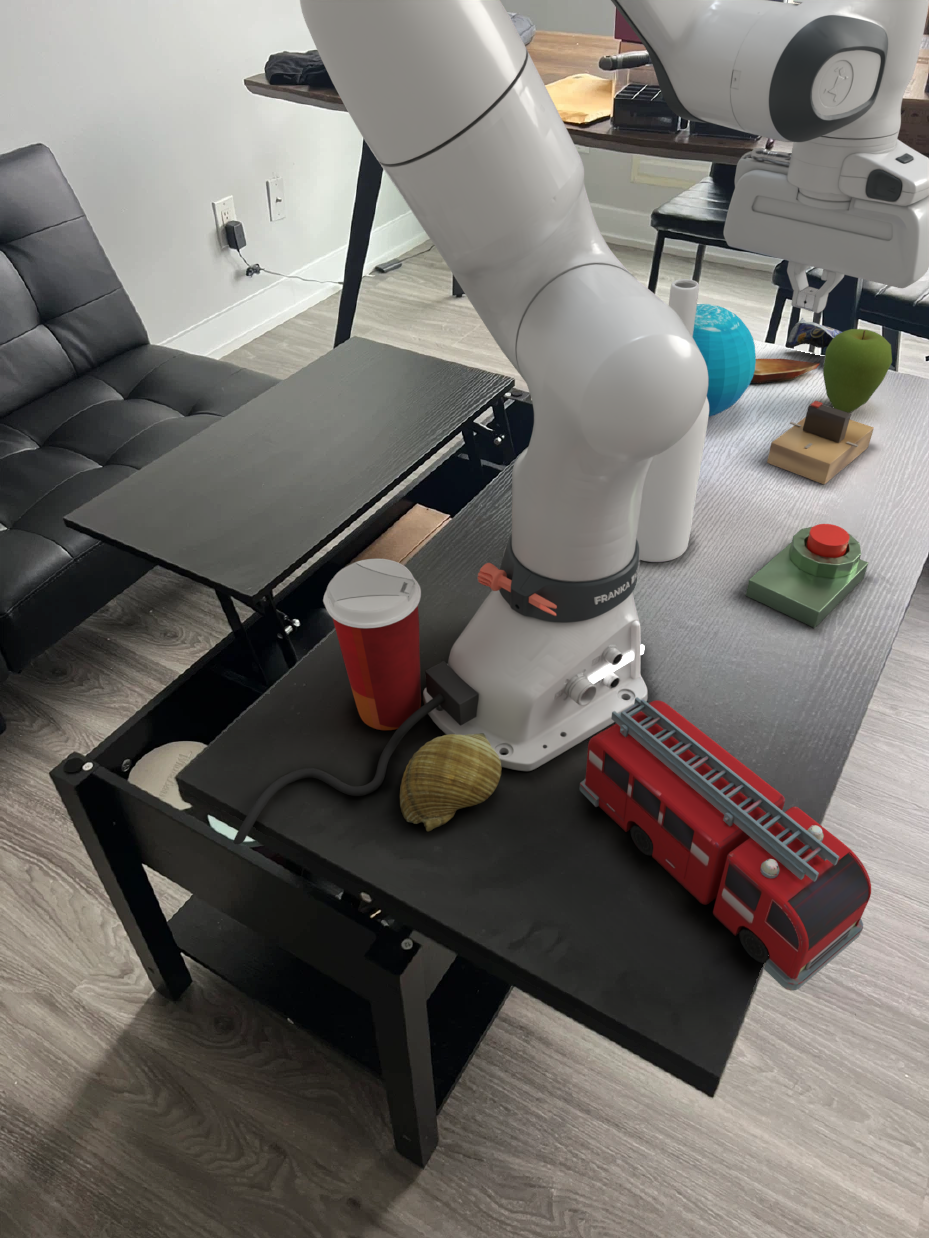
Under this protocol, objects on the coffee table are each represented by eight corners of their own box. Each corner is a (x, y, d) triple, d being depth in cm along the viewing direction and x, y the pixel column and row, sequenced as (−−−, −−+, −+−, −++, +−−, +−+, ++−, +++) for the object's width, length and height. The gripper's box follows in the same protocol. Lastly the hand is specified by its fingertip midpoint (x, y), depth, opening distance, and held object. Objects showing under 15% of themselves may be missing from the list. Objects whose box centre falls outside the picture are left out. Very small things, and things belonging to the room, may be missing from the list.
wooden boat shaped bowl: (814, 369, 137) (817, 358, 136) (823, 385, 133) (826, 374, 132) (718, 369, 138) (720, 358, 137) (724, 386, 134) (726, 375, 133)
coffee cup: (441, 682, 89) (430, 558, 79) (420, 745, 82) (405, 619, 73) (360, 672, 90) (338, 550, 80) (333, 733, 84) (306, 609, 74)
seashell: (432, 856, 78) (477, 847, 72) (369, 809, 77) (408, 795, 70) (482, 765, 83) (528, 749, 77) (423, 719, 82) (465, 699, 75)
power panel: (829, 486, 113) (835, 464, 111) (762, 461, 118) (767, 439, 116) (872, 449, 119) (879, 427, 117) (807, 426, 124) (812, 405, 122)
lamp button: (834, 563, 95) (838, 550, 94) (799, 548, 97) (802, 535, 96) (852, 546, 97) (856, 533, 96) (817, 532, 99) (821, 519, 98)
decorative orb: (616, 417, 128) (626, 313, 118) (671, 378, 136) (683, 278, 126) (713, 450, 120) (731, 342, 110) (764, 406, 129) (785, 302, 119)
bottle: (650, 571, 101) (684, 307, 81) (602, 537, 106) (624, 281, 86) (703, 546, 104) (748, 286, 85) (654, 514, 109) (686, 262, 90)
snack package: (845, 329, 129) (783, 313, 138) (832, 375, 132) (771, 356, 140) (898, 331, 135) (835, 316, 143) (884, 375, 138) (823, 357, 146)
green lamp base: (814, 628, 93) (823, 598, 90) (745, 595, 97) (751, 565, 95) (867, 574, 99) (877, 545, 97) (800, 545, 104) (807, 517, 101)
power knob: (844, 438, 115) (851, 411, 113) (838, 443, 115) (845, 416, 112) (808, 425, 118) (814, 399, 116) (802, 430, 117) (808, 404, 115)
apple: (886, 422, 124) (911, 341, 117) (826, 425, 124) (846, 345, 116) (861, 392, 131) (883, 314, 123) (803, 396, 131) (821, 318, 123)
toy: (788, 1002, 63) (819, 925, 57) (576, 798, 78) (581, 717, 71) (861, 938, 67) (898, 858, 60) (645, 754, 81) (656, 673, 75)
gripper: (723, 151, 88) (703, 292, 97) (933, 189, 77) (888, 345, 86) (757, 138, 91) (735, 275, 100) (963, 173, 80) (917, 324, 89)
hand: (807, 308), depth 93 cm, fingers closed
